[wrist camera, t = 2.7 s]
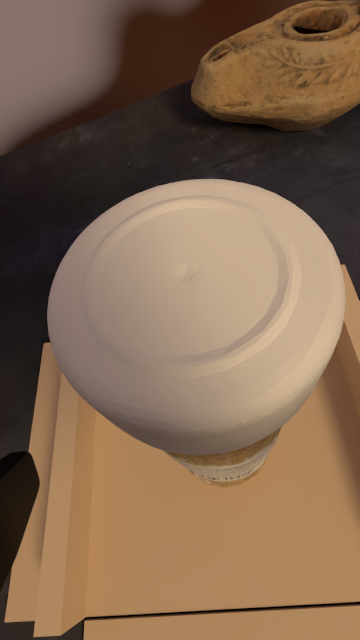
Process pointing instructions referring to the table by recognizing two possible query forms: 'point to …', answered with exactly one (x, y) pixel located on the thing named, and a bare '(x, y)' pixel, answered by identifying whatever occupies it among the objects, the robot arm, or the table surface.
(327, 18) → the oil lamp
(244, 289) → the sprinkles bottle
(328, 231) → the table surface
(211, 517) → the carton
